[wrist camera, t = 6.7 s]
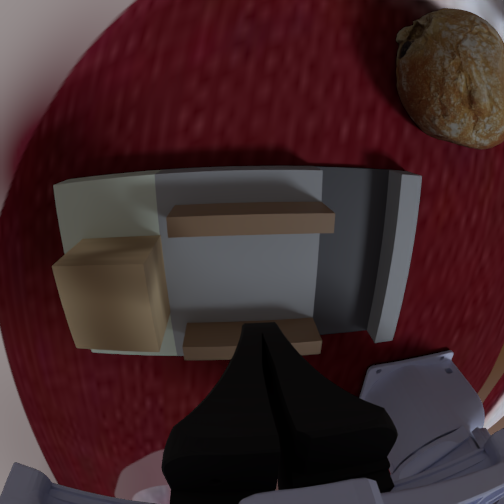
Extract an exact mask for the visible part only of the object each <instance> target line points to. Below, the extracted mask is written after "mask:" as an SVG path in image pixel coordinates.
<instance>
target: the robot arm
mask: <svg viewBox="0 0 504 504" xmlns="http://www.w3.org/2000/svg"><path fill="white" fill-rule="evenodd" d="M452 357H453V352H452V351H451V350H448V351H444V352H440V353H436V354H431V355H427V356H422V357H417V358H412V359H407V360H402V361H396V362H391V363H385V364H379V365H373V366H371V367H369V368H368V370H367V373H366V377H365V380H364V384H363V387H362V390H361V394H360V397H359V398H358V397H356V396H354V395H352V394H350V393H349V392H347V391H345V390H343V389H342V388H340V387H339V386H337V385H335V384H334V383H332V382H331V381H329V380H328V379H327V378H325V377H324V376H323V375H322V374H320V373H319V372H318V371H317V370H316V369H314V368H313V367H312V366H311V365H310V364H309V363H308V362H307V361H306V360H305V359H304V358H303V357H302V356H301V355H300V354H299V353H298V351H297V350H296V349H295V348H294V347H293V346H292V344H291V343H290V342H289V341H288V339H287V338H286V337H285V335H284V334H283V332H282V331H281V330H280V328H279V326H278V325H277V324H276V323H275V322H264V323H244V324H243V325H242V330H241V335H240V339H239V342H238V345H237V347H236V350H235V352H234V355H233V357H232V359H231V361H230V363H229V365H228V366H227V368H226V370H225V372H224V373H223V375H222V377H221V378H220V380H219V381H218V383H217V384H216V385H215V387H214V388H213V389H212V391H211V392H210V393H209V394H208V395H207V397H206V398H205V399H204V400H203V401H202V402H201V403H200V404H199V405H198V406H197V407H196V408H195V409H194V410H193V411H192V412H191V413H190V414H189V415H188V416H186V417H185V418H184V419H183V420H181V421H180V422H179V423H178V424H176V425H175V426H174V427H173V429H172V431H171V433H170V435H169V437H168V440H167V443H166V446H165V449H164V453H163V460H162V472H163V474H164V476H165V478H166V480H167V482H168V484H169V486H170V488H171V496H170V504H504V428H503V429H501V430H499V431H497V432H495V433H494V434H493V435H490V434H489V432H488V431H487V429H486V428H483V425H484V409H483V405H482V402H481V400H480V398H479V396H478V394H477V393H476V392H475V390H474V389H473V388H472V386H471V385H470V384H469V382H468V381H467V380H466V378H465V377H464V376H463V375H462V373H461V372H460V371H459V369H458V368H457V367H456V366H455V364H454V363H453V362H452V361H451V359H452ZM388 469H389V470H390V472H391V475H390V473H389V470H388ZM277 479H278V489H279V490H277V491H275V489H276V484H277ZM0 504H155V503H146V502H139V501H132V500H125V499H119V498H114V497H108V496H103V495H98V494H94V493H89V492H85V491H81V490H77V489H73V488H69V487H65V486H62V485H58V484H55V483H52V482H51V481H50V479H49V478H48V477H47V476H46V475H45V474H44V473H42V472H41V471H39V470H36V469H34V468H31V467H28V466H25V465H22V464H20V463H17V462H15V463H14V464H13V466H12V469H11V471H10V474H9V476H8V478H7V481H6V483H5V486H4V489H3V491H2V494H1V496H0Z"/></svg>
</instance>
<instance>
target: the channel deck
mask: <svg viewBox="0 0 504 504" xmlns="http://www.w3.org/2000/svg"><path fill="white" fill-rule="evenodd" d="M421 181H422V176H420V175H417V174H414V173H411V172H408V171H399V170H386V169H371V168H352V167H326V166H226V167H200V168H181V169H166V170H152V171H140V172H129V173H118V174H108V175H99V176H91V177H83V178H75V179H68V180H65V181H63V182H60V183H58V184H55V185H53V188H54V196H55V203H56V210H57V216H58V222H59V228H60V234H61V239H62V244H63V249H64V254H66V253H67V252H68V251H69V250H70V249H71V248H73V247H74V246H75V245H76V244H77V243H78V242H80V241H81V240H82V239H90V238H110V237H131V236H154V235H161V242H162V251H163V259H164V268H165V275H166V283H167V290H168V297H169V304H170V311H171V312H170V316H169V319H168V323H167V327H166V330H165V334H164V337H163V341H162V345H161V349H160V352H135V351H113V350H97V349H91V351H92V352H96V353H111V354H130V355H161V356H184V360H231V359H232V357H233V355H234V352H235V350H236V347H237V345H238V342H239V339H240V335H241V330H242V325H243V324H244V323H264V322H275V323H276V324H277V325H278V326H279V328H280V330H281V331H282V332H283V334H284V335H285V337H286V338H287V339H288V341H289V342H290V343H291V344H292V346H293V347H294V348H295V349H296V350H297V351H298V353H299V354H300V355H312V354H320V352H321V345H322V339H321V337H320V335H323V334H334V333H344V332H353V331H362V330H367V331H368V333H369V334H370V336H371V338H372V339H373V341H374V343H378V342H385V341H392V340H393V336H394V333H395V329H396V325H397V321H398V317H399V313H400V309H401V304H402V300H403V296H404V291H405V286H406V282H407V277H408V272H409V266H410V261H411V256H412V250H413V244H414V237H415V231H416V224H417V217H418V209H419V200H420V191H421Z"/></svg>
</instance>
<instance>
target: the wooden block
mask: <svg viewBox="0 0 504 504" xmlns="http://www.w3.org/2000/svg"><path fill="white" fill-rule="evenodd" d="M52 269H53V273H54V277H55V281H56V285H57V288H58V292H59V296H60V299H61V303H62V306H63V309H64V312H65V316H66V319H67V322H68V325H69V328H70V331H71V334H72V337H73V340H74V342H75V345H76V348H84V349H97V350H113V351H135V352H160V349H161V345H162V341H163V337H164V334H165V330H166V327H167V323H168V319H169V316H170V312H171V311H170V304H169V297H168V290H167V283H166V275H165V268H164V259H163V251H162V242H161V235H154V236H131V237H110V238H90V239H82V240H81V241H80V242H78V243H77V244H76V245H75V246H74V247H73V248H71V249H70V250H69V251H68V252H67V253H66V254H65V255H64V256H62V257H61V258H60V259H59V260H58V261H57V262H56V263H55V264H54V265H52Z"/></svg>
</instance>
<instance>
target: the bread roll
mask: <svg viewBox="0 0 504 504" xmlns="http://www.w3.org/2000/svg"><path fill="white" fill-rule="evenodd" d="M396 41H397V42H398V43H399V49H398V52H397V61H396V64H397V68H396V76H397V90H398V94H399V97H400V99H401V102H402V104H403V106H404V108H405V109H406V111H407V112H408V114H409V116H410V117H411V119H412V120H413V121H414V122H415V123H416V124H417V126H418V127H419V128H420V129H421V130H422V131H423V132H424V133H426V134H427V135H429V136H431V137H434V138H437V139H439V140H444V141H448V142H451V143H455V144H457V145H462V146H465V147H468V148H475V149H488V148H492V147H494V146H496V145H498V144H500V143H502V142H503V141H504V43H503V41H502V39H501V37H500V36H499V34H498V33H497V31H496V30H495V29H494V28H493V27H492V26H491V25H490V24H489V23H488V22H487V21H486V20H484V19H482V18H481V17H479V16H477V15H475V14H473V13H471V12H468V11H464V10H459V9H448V8H443V9H440V10H438V11H434V12H431V13H429V14H426V15H425V16H422V17H421V18H420V19H418V20H416V21H413V25H411V26H409V27H404V28H402V30H400V31H399V32H398V34H397V38H396Z"/></svg>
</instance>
